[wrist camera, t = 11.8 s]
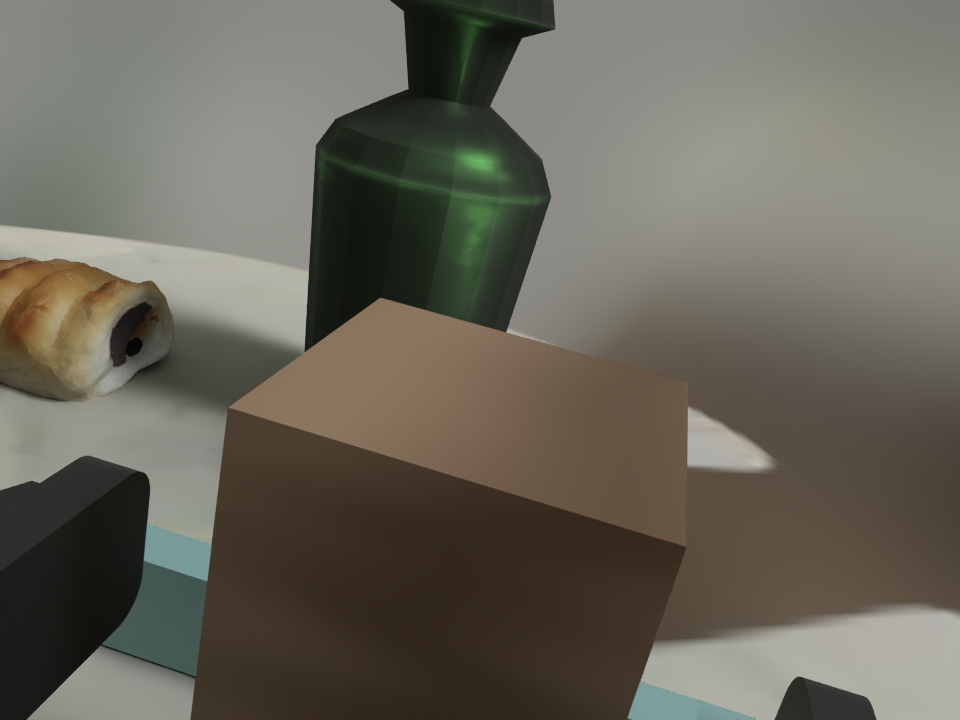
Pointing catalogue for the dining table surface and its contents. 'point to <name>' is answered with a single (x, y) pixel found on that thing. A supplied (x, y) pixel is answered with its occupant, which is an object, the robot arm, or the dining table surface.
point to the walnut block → (442, 530)
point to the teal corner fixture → (180, 606)
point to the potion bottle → (431, 178)
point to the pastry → (77, 328)
